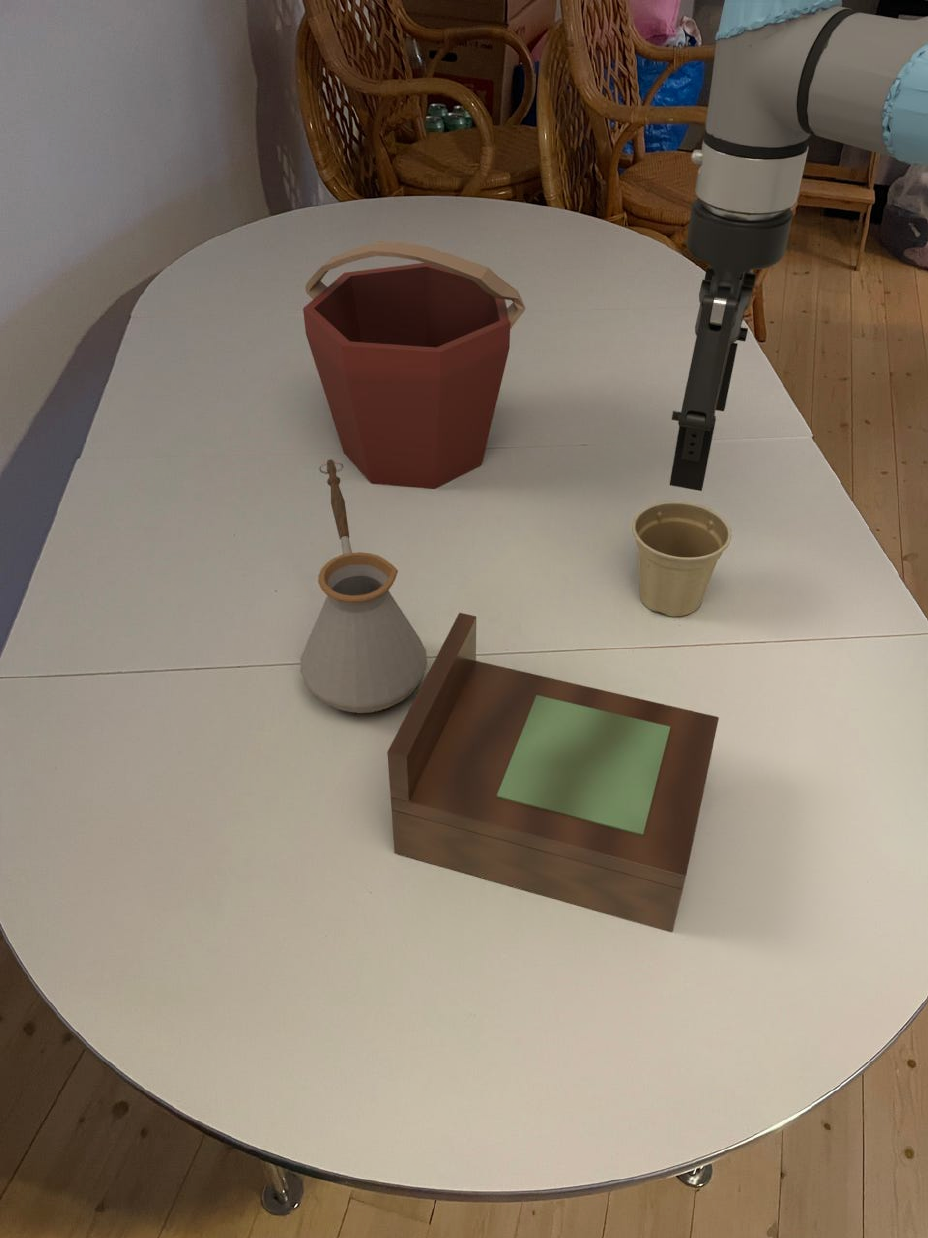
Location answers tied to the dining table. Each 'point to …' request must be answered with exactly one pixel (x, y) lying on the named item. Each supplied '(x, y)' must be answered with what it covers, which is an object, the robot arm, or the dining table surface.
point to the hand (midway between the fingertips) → (698, 444)
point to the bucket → (411, 360)
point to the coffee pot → (360, 629)
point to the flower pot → (677, 554)
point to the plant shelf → (549, 784)
